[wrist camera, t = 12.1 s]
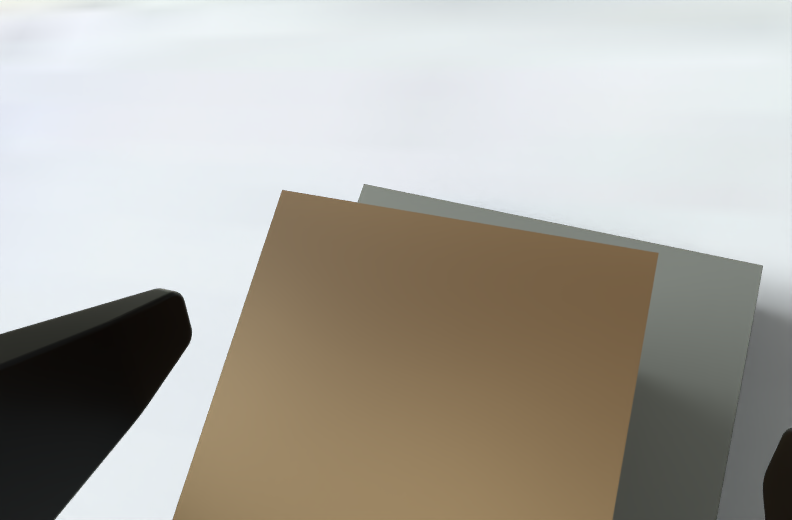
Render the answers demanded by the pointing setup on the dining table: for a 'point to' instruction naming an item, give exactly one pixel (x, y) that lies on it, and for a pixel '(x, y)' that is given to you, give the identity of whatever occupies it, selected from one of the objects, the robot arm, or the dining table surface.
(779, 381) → the dining table surface
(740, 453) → the dining table surface
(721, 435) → the gray box
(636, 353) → the bronze block
